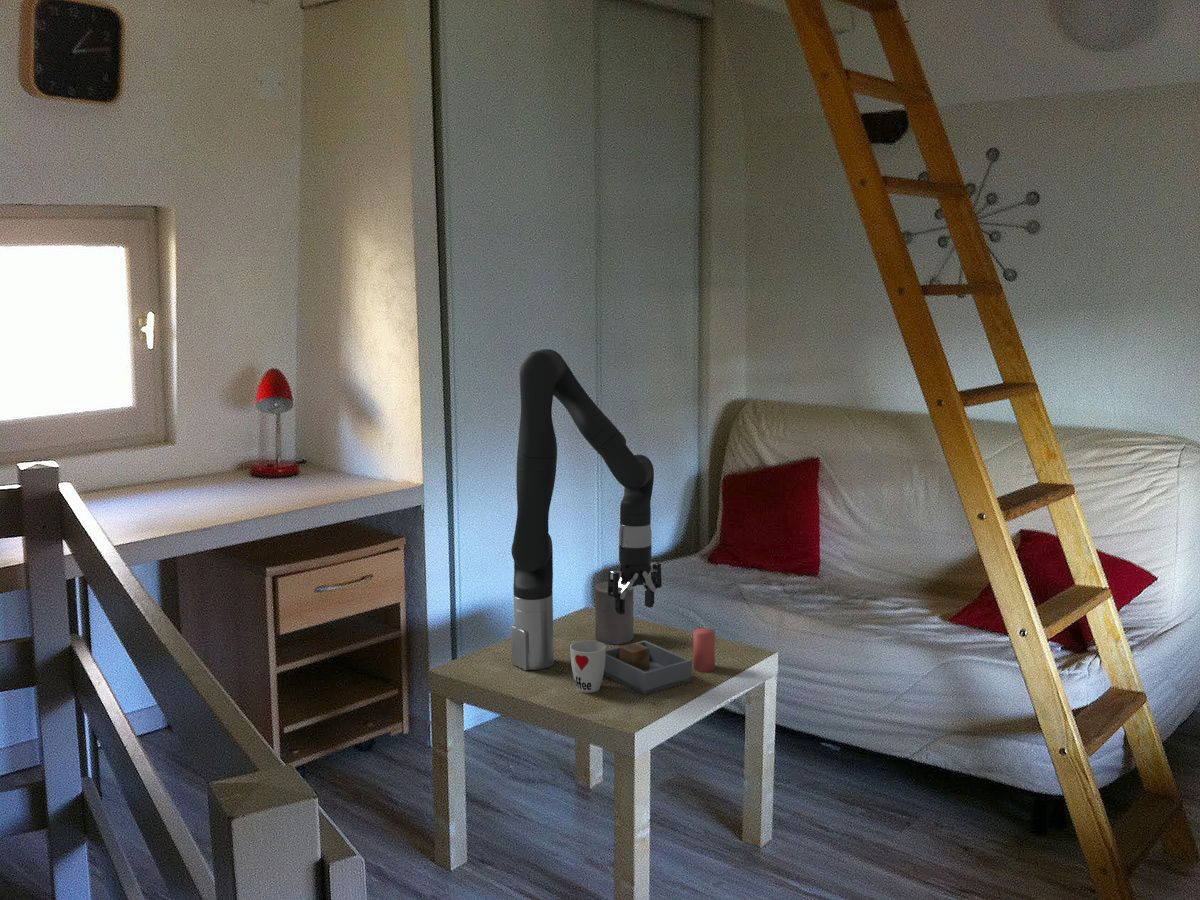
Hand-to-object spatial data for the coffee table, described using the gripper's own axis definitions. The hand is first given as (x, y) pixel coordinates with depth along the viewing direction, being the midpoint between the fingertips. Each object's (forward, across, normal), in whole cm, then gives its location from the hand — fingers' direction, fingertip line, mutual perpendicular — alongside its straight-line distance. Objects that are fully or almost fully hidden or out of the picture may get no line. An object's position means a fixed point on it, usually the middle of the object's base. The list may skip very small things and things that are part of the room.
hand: (634, 610), depth 286 cm
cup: (+15, +14, +1) cm, 21 cm away
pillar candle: (+15, -12, -22) cm, 29 cm away
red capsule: (+15, -14, +8) cm, 22 cm away
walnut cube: (+14, 0, 0) cm, 14 cm away
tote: (+15, 0, +4) cm, 16 cm away
